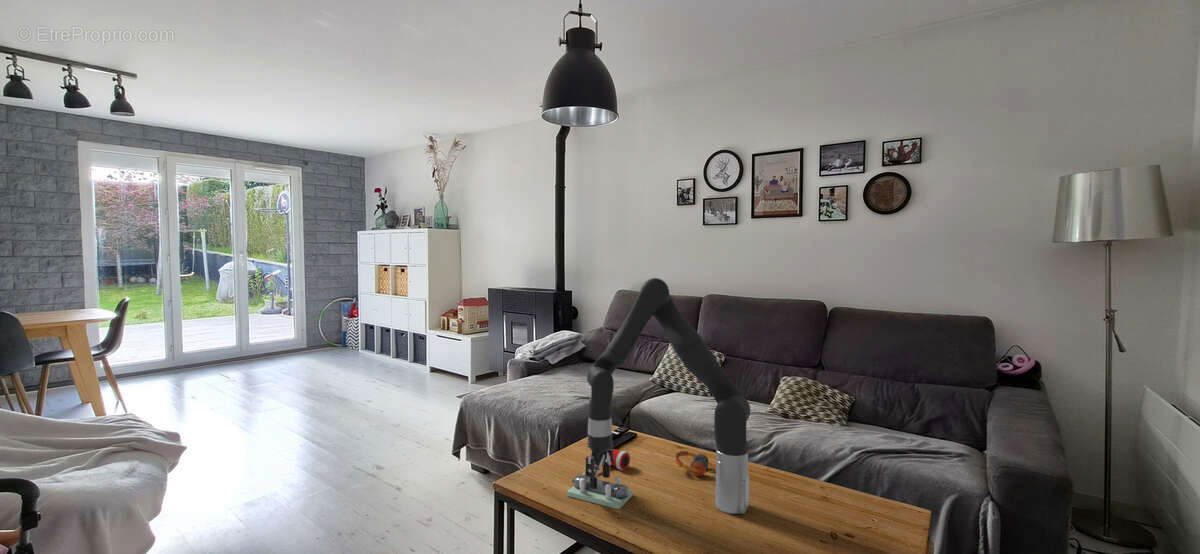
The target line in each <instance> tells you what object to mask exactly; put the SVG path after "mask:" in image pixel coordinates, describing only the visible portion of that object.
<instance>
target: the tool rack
mask: <svg viewBox="0 0 1200 554" xmlns="http://www.w3.org/2000/svg"><path fill="white" fill-rule="evenodd" d="M614 484H621V476H619V475H616V476H614ZM633 494H634V490H632V489H629V488H628V497H627V498H625V499H616V498H614V497H613V496H611V485H606V495H605V494H601V493H596V492H592V491H588V490H585V479H583V478H581V479H580V489H576V488H574V485H573V486H572V487H571V488H569V489H568V490H567V491H566V496H567V497H569V498H573V499H577V500H582V501H584V502H589V503H593V504H596V505H601V506H604V507H608V508H612V509H616V510H621V508H622V507H623V506H624V505H625V504H626V503H627V502H628V501H629V500H630V499H631V498H632V497H633Z"/></svg>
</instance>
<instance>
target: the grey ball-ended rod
mask: <svg viewBox="0 0 1200 554" xmlns="http://www.w3.org/2000/svg"><path fill="white" fill-rule="evenodd" d="M581 478H583V479H585V490H588V491H592V492H596V493H601V494H605V495H606V485H611V496H613V497H614V498H616V499H625V498H627V497H628V489H629V488H628V486H627V485H626V484H622V483H620V484H615V482H614V483H613V482H609V481H604V480H600V479H597V488H596V489H592V488H590V477H587V476H584V475H582V474H578V475H575V476H574V477H573V479H574V483H573V486H574V488H576V489H580V479H581Z"/></svg>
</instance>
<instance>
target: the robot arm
mask: <svg viewBox="0 0 1200 554" xmlns="http://www.w3.org/2000/svg"><path fill="white" fill-rule="evenodd" d="M652 317H654V318H655V320H656V321H657V322H658V323H659V325H660V326H661V328H662V330H663V332H664V333H665V335H666V337H667V339H668V341H669V343H670V345H671V347H672V349H673V350H674V352H675V354H676V356H677V357H678V358H679V360H680V361H681V363H682V364H683V365H684V367H685V368H686V369H687V370H688V372H690V373H691V374H692V375H693V376H694V377H695V378H696V379H698V380H699V381H700V383H702V384H703V385H704V386H705V387H706V388H707V389H708V390H709V392H710V394H711V395H712V397H713V398H714V400H715V402H716V407H715V408H714V422H713V423H714V424H713V425H714V430H713V431H714V435H713V436H714V441H715V450H716V451H715V470H716V471H715V500H714V501H715V507H716V509H718V510H719V511H721V512H722V513H727V514H732V515H737V514H738V515H739V514H741V515H746V513H747V511H748V508H749V506H750V474H749V442H748V440H747V421H748V420H749V418H750V416H751V406H750V402H749V401H748V400H747V398H746V396H744V394H742V393H741V391H740V390H739V388H737V387H736V385H735V383H733V382H732V381H731V379H730V378H729V377H728V375H727V374H726V372H725V371H724V369H723V367H722V366H721V364H720V363H719V361H718V360H717V358H716V357H715V355H714V354H713V352H712V350H711V349H710V347H709V346H708V345H707V343H706V342H705V340H704V339H703V337H702V336H701V335H700V333H699V332H698V331H697V330H696V329H695V327H694V326H693V325H692V324H691V323H689V321H688V320H687V319H686V318H685V317H684V316H683V315H682V313H681V312H680V310H679V309H678V307H677V306H676V304H675V302H674V300H673V298H672V297H671V294H670V288H669V286H668V284H667V283H666V281H665V280H662V279H661V278H658V277H656V278H655V277H653V278H649V279H647V280H646V281H644V282H643V283H642V285H641V287H640V290H639V292H638V295H637V297H636V300H635V302H634V304H633V306H632V307H631V310H630V311H629V314H628V315H627V317H626V318H625V320H624V321H623V323H622V324H621V326H620V327H619V329H618V330H617V332H616V333H615V334H614V336H613V337H612V339H611V340H610V341H609V343H608V345H607V347H606V348H605V350H604V351H603V353H602V354H601V355H600V356H599V357H598V358H597V359H596V360H595V361H594V362H593V364H592V365H591V366H590V368H589V370H588V372H587V376H586V381H587V384H588V385H589V386H590V389H591V390H590V391H591V392H590V393H591V396H590V397H591V399H590V400H589V403H588V420H587V447H588V448H589V449H590V450H591V454H590V456H586V457H585V472H586V476H587V477H588V478H590V488H592V489H596V488H597V480H598V475H599V471H601V469H602V477H603V478H606V479H609V478H610V476H611V470H610V469H611V466H612V465H611V462H613V460H614V459H613V449H614V444H613V422H612V400H613V394H614V387H615V386H614V378H613V375H612V374H613V373H614V371H615V370H616V369H617V368H619V367H621V366H623V365H624V363H625V362H626V361H627V359H628V357H629V356H630V354H631V353H632V351H633V350H634V348H635V346H636V344H637V342H638V340H639V338H640V336H641V335H642V333H643V331H644V329H645V328H646V326H647V324H648V322H649V320H650V319H651V318H652ZM609 455H610V456H611V457H609ZM602 464H603V466H602ZM596 465H598V466H596ZM589 469H590V470H589ZM595 469H596V470H595Z"/></svg>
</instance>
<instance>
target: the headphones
mask: <svg viewBox="0 0 1200 554" xmlns="http://www.w3.org/2000/svg"><path fill="white" fill-rule="evenodd" d="M683 456H684V457H686V456H687V457H688V456H690V457H692V458H693V461H692V462H691V463H690V466H689V465H686V464H684V462H683V461H681V459H680V457H683ZM674 460H675V461H674V462H675V463H676V464H677V465H678V467H681V468H683V469H685V470H687V471H690V472H691V473H692V474H693V475H695V476H697V477H701V476H703V475H705V474H706V473H710V472H711V473H713V472H716V466H715V467H714V466H713V465H712V464H711V462H709V458H708V456H706V455H705V454H702V453H697V454H695V453H692V452H689V451H688V450H687V451H685V450H684V451H683V450H682V451H681V450H680V451H678V452H677V453H676V455H675V459H674ZM709 465H710V466H711V467H712V468H713V469H715V470H709V471H707V468H708V467H709Z"/></svg>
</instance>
